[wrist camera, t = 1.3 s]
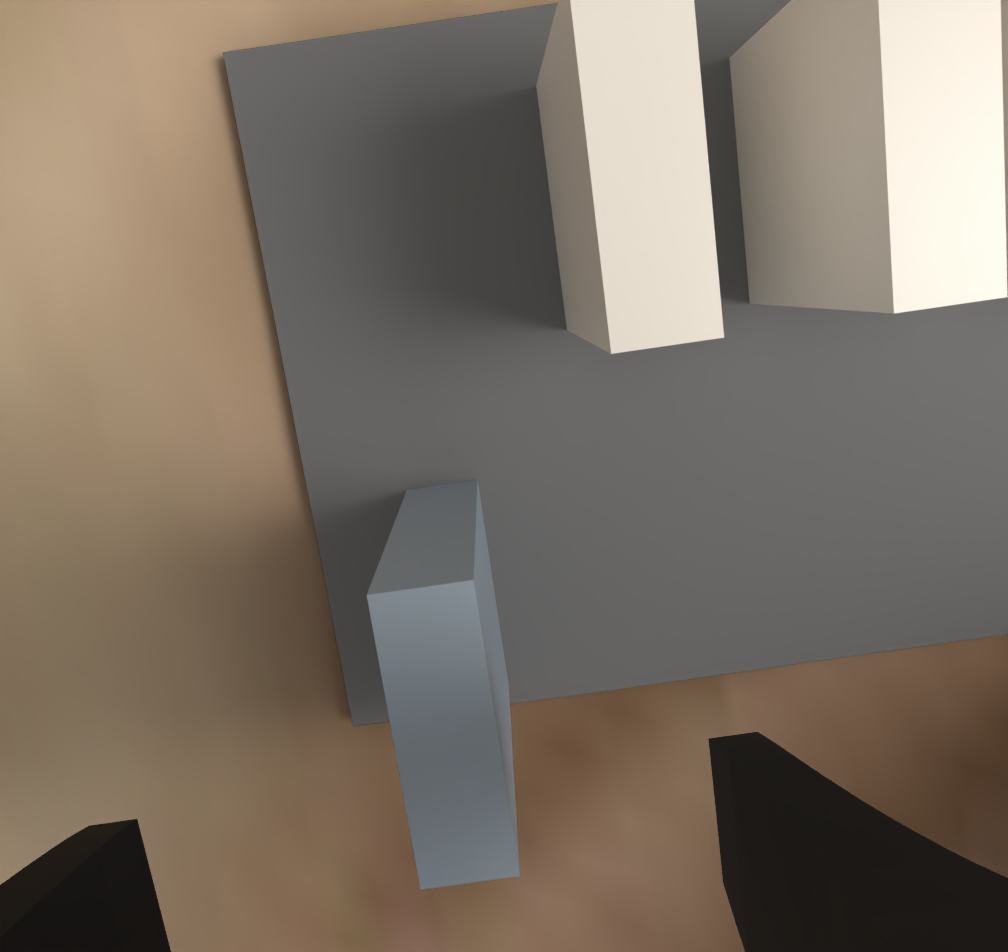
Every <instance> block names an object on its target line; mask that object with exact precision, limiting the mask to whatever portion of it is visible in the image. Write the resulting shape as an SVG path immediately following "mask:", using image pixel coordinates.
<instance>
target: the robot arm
mask: <svg viewBox="0 0 1008 952" xmlns="http://www.w3.org/2000/svg"><path fill="white" fill-rule="evenodd" d="M709 747H710V757H711V766H712V776H713V786H714V796H715V805H716V815H717V825H718V835H719V845H720V854H721V864H722V874H723V883H724V887H725V890H726V893H727V896H728V899H729V903H730V906H731V909H732V912H733V915H734V918H735V922H736V925H737V928H738V931H739V934H740V937H741V940H742V943H743V946H744V949H745V952H1008V878H1007V877H1004V876H1002V875H1000V874H998V873H996V872H993V871H991V870H989V869H987V868H985V867H982V866H980V865H978V864H976V863H974V862H972V861H970V860H968V859H966V858H964V857H962V856H960V855H958V854H956V853H954V852H952V851H950V850H948V849H946V848H944V847H942V846H940V845H938V844H937V843H935V842H933V841H931V840H929V839H927V838H926V837H924V836H922V835H920V834H918V833H917V832H915V831H913V830H911V829H909V828H907V827H906V826H904V825H902V824H900V823H898V822H897V821H895V820H893V819H892V818H890V817H888V816H887V815H885V814H883V813H881V812H880V811H878V810H876V809H875V808H873V807H871V806H870V805H868V804H867V803H865V802H863V801H862V800H860V799H859V798H857V797H855V796H854V795H852V794H851V793H849V792H848V791H846V790H844V789H843V788H841V787H840V786H838V785H837V784H835V783H834V782H832V781H831V780H829V779H827V778H826V777H824V776H823V775H821V774H820V773H818V772H817V771H815V770H814V769H813V768H811V767H810V766H808V765H807V764H805V763H804V762H802V761H801V760H799V759H798V758H796V757H795V756H793V755H792V754H790V753H789V752H787V751H786V750H785V749H783V748H782V747H780V746H779V745H777V744H776V743H774V742H773V741H771V740H770V739H768V738H767V737H765V736H763V735H762V734H760V733H758V732H753V733H746V734H739V735H732V736H725V737H718V738H711V739H709ZM0 952H171V950H170V946H169V942H168V939H167V935H166V931H165V927H164V923H163V919H162V915H161V911H160V907H159V903H158V899H157V895H156V891H155V887H154V883H153V880H152V876H151V872H150V868H149V864H148V860H147V856H146V852H145V848H144V844H143V840H142V836H141V832H140V828H139V824H138V821H137V819H134V820H127V821H120V822H113V823H106V824H99V825H92V826H88V827H86V828H85V829H83V830H81V831H79V832H78V833H76V834H74V835H72V836H71V837H69V838H68V839H66V840H64V841H63V842H61V843H60V844H58V845H57V846H55V847H54V848H52V849H51V850H49V851H48V852H46V853H45V854H43V855H42V856H41V857H39V858H38V859H36V860H35V861H33V862H32V863H31V864H29V865H28V866H26V867H25V868H23V869H22V870H21V871H19V872H18V873H16V874H15V875H14V876H12V877H11V878H9V879H8V880H7V881H5V882H4V883H2V884H1V885H0Z"/></svg>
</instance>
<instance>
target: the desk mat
mask: <svg viewBox="0 0 1008 952" xmlns="http://www.w3.org/2000/svg"><path fill="white" fill-rule="evenodd" d="M790 1H791V0H694V5H695V16H696V27H697V39H698V50H699V61H700V72H701V83H702V95H703V106H704V117H705V128H706V139H707V151H708V162H709V173H710V184H711V195H712V207H713V218H714V229H715V240H716V251H717V263H718V274H719V285H720V296H721V307H722V319H723V330H724V338H718V339H711V340H704V341H697V342H690V343H683V344H676V345H670V346H663V347H656V348H649V349H642V350H635V351H628V352H621V353H614V354H611V353H609V352H607V351H605V350H603V349H601V348H599V347H598V346H596V345H594V344H592V343H590V342H588V341H586V340H585V339H583V338H581V337H579V336H577V335H575V334H573V333H572V332H570V331H568V330H567V327H566V319H565V311H564V303H563V295H562V287H561V279H560V271H559V263H558V255H557V247H556V239H555V232H554V224H553V216H552V208H551V200H550V192H549V184H548V176H547V168H546V160H545V152H544V144H543V136H542V128H541V120H540V112H539V104H538V96H537V88H536V85H537V81H538V77H539V73H540V69H541V65H542V61H543V57H544V54H545V50H546V46H547V42H548V38H549V34H550V30H551V26H552V22H553V18H554V14H555V11H556V7H557V3H554V4H547V5H541V6H534V7H527V8H520V9H514V10H507V11H500V12H493V13H487V14H480V15H473V16H466V17H459V18H453V19H446V20H439V21H432V22H426V23H419V24H412V25H405V26H399V27H392V28H385V29H378V30H372V31H365V32H358V33H351V34H345V35H338V36H331V37H324V38H317V39H311V40H304V41H297V42H290V43H284V44H277V45H270V46H263V47H257V48H250V49H243V50H236V51H230V52H223V56H224V61H225V66H226V71H227V76H228V82H229V87H230V92H231V97H232V102H233V107H234V113H235V118H236V123H237V128H238V133H239V139H240V144H241V149H242V154H243V159H244V164H245V170H246V175H247V180H248V185H249V190H250V196H251V201H252V206H253V211H254V216H255V221H256V227H257V232H258V237H259V242H260V247H261V253H262V258H263V263H264V268H265V273H266V279H267V284H268V289H269V294H270V299H271V304H272V310H273V315H274V320H275V325H276V330H277V336H278V341H279V346H280V351H281V356H282V361H283V367H284V372H285V377H286V382H287V387H288V393H289V398H290V403H291V408H292V413H293V418H294V424H295V429H296V434H297V439H298V444H299V450H300V455H301V460H302V465H303V470H304V475H305V481H306V486H307V491H308V496H309V501H310V507H311V512H312V517H313V522H314V527H315V532H316V538H317V543H318V548H319V553H320V558H321V564H322V569H323V574H324V579H325V584H326V589H327V595H328V600H329V605H330V610H331V615H332V621H333V626H334V631H335V636H336V641H337V647H338V652H339V657H340V662H341V667H342V672H343V678H344V683H345V688H346V693H347V698H348V704H349V709H350V714H351V719H352V724H353V726H360V725H367V724H374V723H381V722H388V721H390V720H389V715H388V709H387V704H386V698H385V693H384V687H383V682H382V676H381V671H380V665H379V660H378V654H377V649H376V644H375V638H374V633H373V627H372V622H371V616H370V611H369V605H368V600H367V593H368V590H369V588H370V585H371V582H372V580H373V577H374V575H375V572H376V569H377V567H378V564H379V562H380V559H381V556H382V554H383V551H384V549H385V546H386V543H387V541H388V538H389V535H390V533H391V530H392V528H393V525H394V522H395V520H396V517H397V515H398V512H399V509H400V507H401V504H402V502H403V499H404V496H405V494H406V491H407V490H410V489H417V488H424V487H431V486H438V485H445V484H451V483H458V482H465V481H472V480H478V486H479V493H480V499H481V506H482V512H483V519H484V526H485V532H486V539H487V545H488V552H489V559H490V565H491V572H492V578H493V585H494V592H495V598H496V605H497V611H498V618H499V625H500V631H501V638H502V644H503V651H504V658H505V664H506V671H507V677H508V684H509V700H510V704H516V703H523V702H530V701H537V700H544V699H552V698H559V697H566V696H573V695H580V694H587V693H594V692H601V691H608V690H615V689H623V688H630V687H637V686H644V685H651V684H658V683H665V682H672V681H679V680H687V679H694V678H701V677H708V676H715V675H722V674H729V673H736V672H743V671H751V670H758V669H765V668H772V667H779V666H786V665H793V664H800V663H807V662H814V661H822V660H829V659H836V658H843V657H850V656H857V655H864V654H871V653H878V652H886V651H893V650H900V649H907V648H914V647H921V646H928V645H935V644H942V643H950V642H957V641H964V640H971V639H978V638H985V637H992V636H999V635H1006V634H1008V297H1005V298H998V299H991V300H984V301H977V302H971V303H964V304H957V305H950V306H943V307H936V308H929V309H922V310H915V311H908V312H901V313H894V314H893V313H879V312H864V311H849V310H834V309H820V308H805V307H790V306H775V305H760V304H750V301H749V288H748V276H747V264H746V252H745V240H744V228H743V216H742V204H741V192H740V180H739V168H738V155H737V143H736V131H735V119H734V107H733V95H732V83H731V71H730V59H729V58H730V57H731V56H732V55H733V54H734V53H735V52H736V51H737V50H738V49H739V48H741V47H742V46H743V45H744V44H745V43H746V42H747V41H748V40H749V39H750V38H751V37H752V36H753V35H754V34H756V33H757V32H758V31H759V30H760V29H761V28H762V27H763V26H764V25H765V24H766V23H767V22H768V21H769V20H771V19H772V18H773V17H774V16H775V15H776V14H777V13H778V12H779V11H780V10H781V9H782V8H783V7H784V6H786V5H787V4H788V3H789V2H790ZM1007 296H1008V276H1007Z"/></svg>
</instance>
